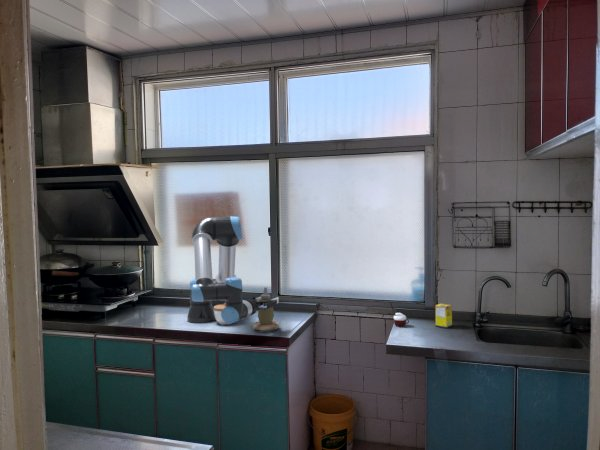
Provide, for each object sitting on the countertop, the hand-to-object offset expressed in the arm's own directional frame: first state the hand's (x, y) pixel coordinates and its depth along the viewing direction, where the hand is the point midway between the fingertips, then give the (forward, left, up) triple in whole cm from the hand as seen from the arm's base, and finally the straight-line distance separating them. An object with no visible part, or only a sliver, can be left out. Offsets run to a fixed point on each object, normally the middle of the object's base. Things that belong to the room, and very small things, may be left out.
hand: (270, 299), depth 230 cm
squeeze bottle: (0, -5, -11) cm, 12 cm away
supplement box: (+80, +34, -15) cm, 88 cm away
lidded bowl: (-27, -1, -15) cm, 31 cm away
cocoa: (+59, +27, -15) cm, 67 cm away
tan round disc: (0, -5, -15) cm, 15 cm away
